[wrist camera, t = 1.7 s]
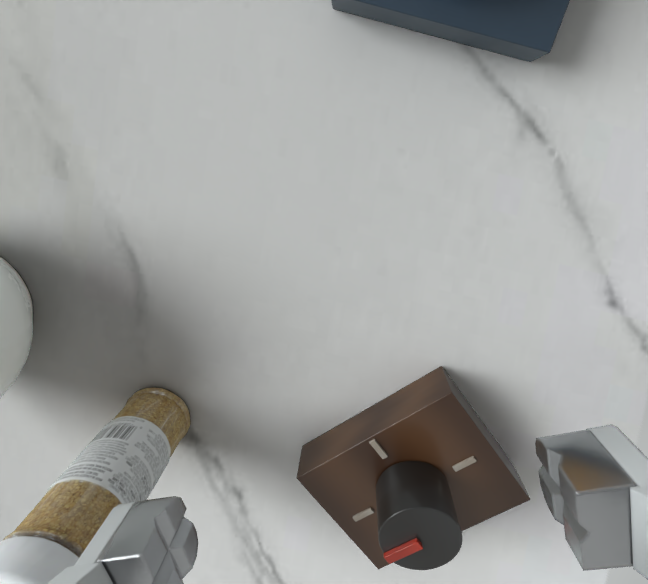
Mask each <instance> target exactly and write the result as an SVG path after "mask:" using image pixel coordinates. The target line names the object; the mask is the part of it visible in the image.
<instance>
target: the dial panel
mask: <svg viewBox="0 0 648 584" xmlns="http://www.w3.org/2000/svg"><path fill="white" fill-rule="evenodd" d="M404 461H421V462H425V463H428V464H430V465H432V466H434V467H436V468H437V469H438V470H440V471H441V472H442V473H443V475H444V476H445V477H446V479H447V481H448V485H449V488H450V492H451V496H452V499H453V503H454V506H455V510H456V514H457V517H458V521H459V525H460V528H461V531H463V530H465V529H467V528H470V527H472V526H474V525H476V524H478V523H481V522H483V521H485V520H487V519H489V518H491V517H494V516H496V515H498V514H500V513H502V512H505V511H507V510H509V509H511V508H513V507H516V506H518V505H520V504H522V503H524V502H526V501H529V500H530V497H529V495H528V493H527V491H526V489H525V487H524V485H523V483H522V481H521V479H520V477H519V475H518V473H517V471H516V469H515V467H514V465H513V464H512V462H511V461H510V459H509V458H508V457H507V455H506V454H505V453H504V451H503V450H502V448H501V447H500V446H499V444H498V443H497V442H496V440H495V439H494V437H493V436H492V435H491V433H490V432H489V430H488V429H487V428H486V426H485V425H484V424H483V422H482V421H481V419H480V418H479V417H478V415H477V414H476V413H475V411H474V410H473V408H472V407H471V406H470V404H469V403H468V401H467V400H466V399H465V397H464V396H463V395H462V393H461V392H460V390H459V389H458V388H457V386H456V385H455V384H454V382H453V381H452V379H451V378H450V377H449V375H448V374H447V372H446V371H445V370H444V368H443V367H442V366H441V367H439V368H437V369H435V370H434V371H432V372H430V373H429V374H427V375H425V376H423V377H422V378H420V379H418V380H416V381H415V382H413V383H411V384H409V385H408V386H406V387H404V388H402V389H401V390H399V391H397V392H396V393H394V394H392V395H390V396H389V397H387V398H385V399H383V400H382V401H380V402H378V403H376V404H375V405H373V406H371V407H369V408H368V409H366V410H364V411H363V412H361V413H359V414H357V415H356V416H354V417H352V418H350V419H349V420H347V421H345V422H343V423H342V424H340V425H338V426H336V427H335V428H333V429H331V430H330V431H328V432H326V433H324V434H323V435H321V436H319V437H317V438H316V439H314V440H312V441H310V442H309V443H307V444H305V445H303V446H302V451H301V456H300V462H299V468H298V473H297V479H298V480H299V481H300V483H301V484H302V485H303V486H304V487H305V488H306V489H307V490H308V491H309V493H310V494H311V495H312V496H313V497H314V498H315V499H316V500H317V501H318V503H319V504H320V505H321V506H322V507H323V508H324V509H325V510H326V511H327V513H328V514H329V515H330V516H331V517H332V518H333V519H334V520H335V521H336V523H337V524H338V525H339V526H340V527H341V528H342V529H343V530H344V531H345V533H346V534H347V535H348V536H349V537H350V538H351V539H352V540H353V541H354V543H355V544H356V545H357V546H358V547H359V548H360V549H361V550H362V551H363V553H364V554H365V555H366V556H367V557H368V558H369V559H370V560H371V561H372V563H373V564H374V565H375V566H376V567H377V568H378V569H380V568H382V567H384V566H387V565H389V563H388V562H387V561H386V560H385V558H384V553H383V551H382V549H381V547H380V545H379V540H378V522H377V505H376V484H377V481H378V479H379V477H380V476H381V474H382V473H383V472H384V471H385V470H386V469H387V468H389V467H390V466H392V465H394V464H397V463H400V462H404Z"/></svg>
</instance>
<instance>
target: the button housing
mask: <svg viewBox="0 0 648 584" xmlns="http://www.w3.org/2000/svg"><path fill="white" fill-rule="evenodd" d="M569 1H570V0H332V6H333V9H336V10H339V11H343V12H347V13H351V14H354V15H358V16H362V17H365V18H369V19H373V20H377V21H380V22H384V23H388V24H391V25H395V26H399V27H402V28H406V29H410V30H414V31H417V32H421V33H425V34H428V35H432V36H436V37H440V38H443V39H447V40H451V41H454V42H458V43H462V44H465V45H469V46H473V47H477V48H480V49H484V50H488V51H491V52H495V53H499V54H503V55H506V56H510V57H514V58H517V59H521V60H525V61H529V62H531V61H533V60H535V59H537V58H539V57H541V56H543V55H545V54H547V53H549V52H550V51H551V48H552V46H553V43H554V40H555V38H556V35H557V33H558V30H559V27H560V25H561V22H562V20H563V17H564V14H565V12H566V9H567V6H568V4H569Z"/></svg>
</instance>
